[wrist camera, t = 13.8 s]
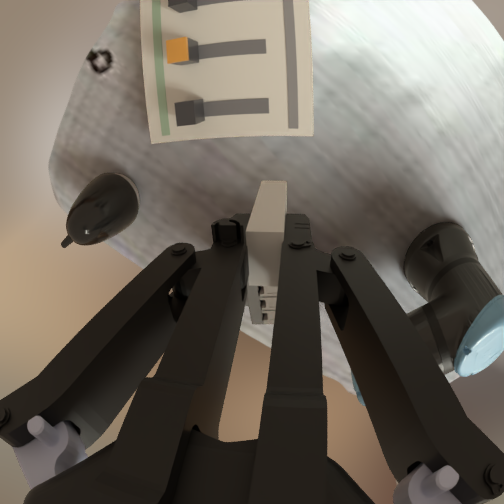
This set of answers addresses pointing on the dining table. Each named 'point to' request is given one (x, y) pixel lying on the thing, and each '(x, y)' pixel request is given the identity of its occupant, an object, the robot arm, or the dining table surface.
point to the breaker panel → (228, 69)
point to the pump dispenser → (102, 210)
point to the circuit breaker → (261, 303)
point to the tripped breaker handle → (182, 51)
